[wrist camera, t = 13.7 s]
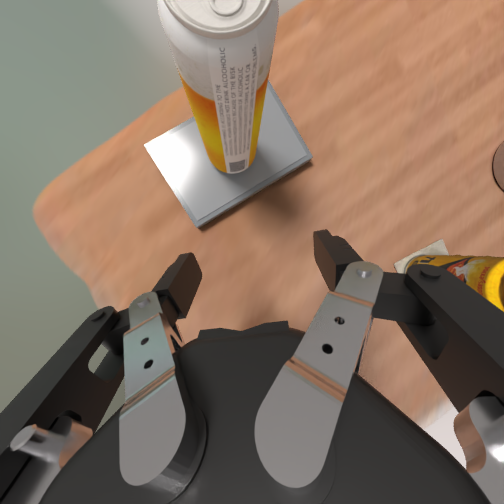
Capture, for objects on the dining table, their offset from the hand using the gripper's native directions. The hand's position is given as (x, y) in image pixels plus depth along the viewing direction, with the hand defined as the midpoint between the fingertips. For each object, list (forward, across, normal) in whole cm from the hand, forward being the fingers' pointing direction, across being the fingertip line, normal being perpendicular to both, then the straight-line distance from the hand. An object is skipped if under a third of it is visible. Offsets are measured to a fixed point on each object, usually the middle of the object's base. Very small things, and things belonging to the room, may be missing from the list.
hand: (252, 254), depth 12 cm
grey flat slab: (+17, +2, -5) cm, 18 cm away
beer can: (+16, +2, -6) cm, 17 cm away
